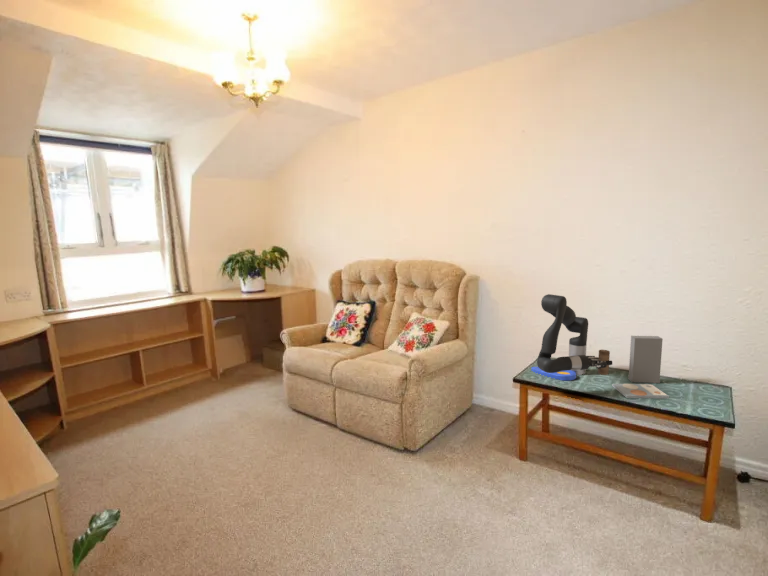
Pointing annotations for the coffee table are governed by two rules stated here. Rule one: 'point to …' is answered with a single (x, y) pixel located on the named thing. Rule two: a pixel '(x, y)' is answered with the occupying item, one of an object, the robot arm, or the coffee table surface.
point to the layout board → (639, 391)
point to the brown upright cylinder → (604, 356)
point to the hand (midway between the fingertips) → (608, 360)
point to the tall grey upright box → (645, 359)
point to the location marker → (556, 374)
